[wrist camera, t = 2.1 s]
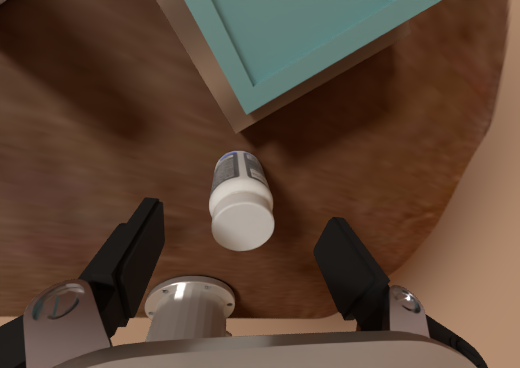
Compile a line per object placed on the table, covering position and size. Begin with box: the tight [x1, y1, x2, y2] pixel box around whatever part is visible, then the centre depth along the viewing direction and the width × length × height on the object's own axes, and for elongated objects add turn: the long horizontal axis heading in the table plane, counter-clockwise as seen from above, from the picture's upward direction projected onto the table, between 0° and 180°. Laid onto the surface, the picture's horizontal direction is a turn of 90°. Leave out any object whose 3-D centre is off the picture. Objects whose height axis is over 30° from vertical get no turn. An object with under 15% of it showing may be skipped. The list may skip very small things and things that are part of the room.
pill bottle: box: [209, 151, 274, 251], centre depth 15 cm, size 5×5×8 cm
